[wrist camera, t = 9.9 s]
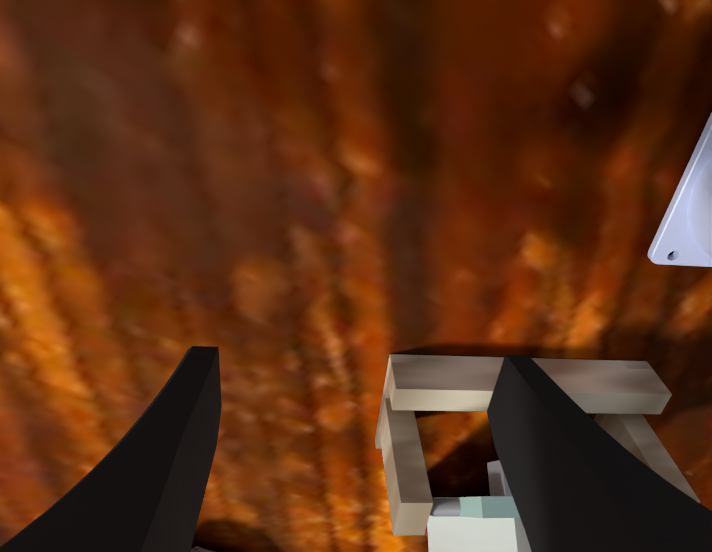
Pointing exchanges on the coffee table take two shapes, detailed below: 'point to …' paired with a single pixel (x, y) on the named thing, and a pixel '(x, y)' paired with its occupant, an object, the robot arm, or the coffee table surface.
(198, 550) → the mineral rock
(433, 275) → the coffee table surface
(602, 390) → the frame
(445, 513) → the trapdoor
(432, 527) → the white cube
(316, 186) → the coffee table surface
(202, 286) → the coffee table surface
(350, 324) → the coffee table surface
